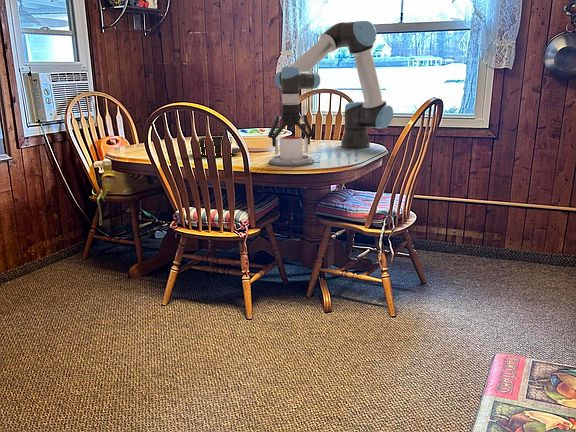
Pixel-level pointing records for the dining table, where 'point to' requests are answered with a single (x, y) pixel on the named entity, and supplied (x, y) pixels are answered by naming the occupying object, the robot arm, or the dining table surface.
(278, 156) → the ring collar
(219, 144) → the casserole
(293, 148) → the cup
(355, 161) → the dining table surface
